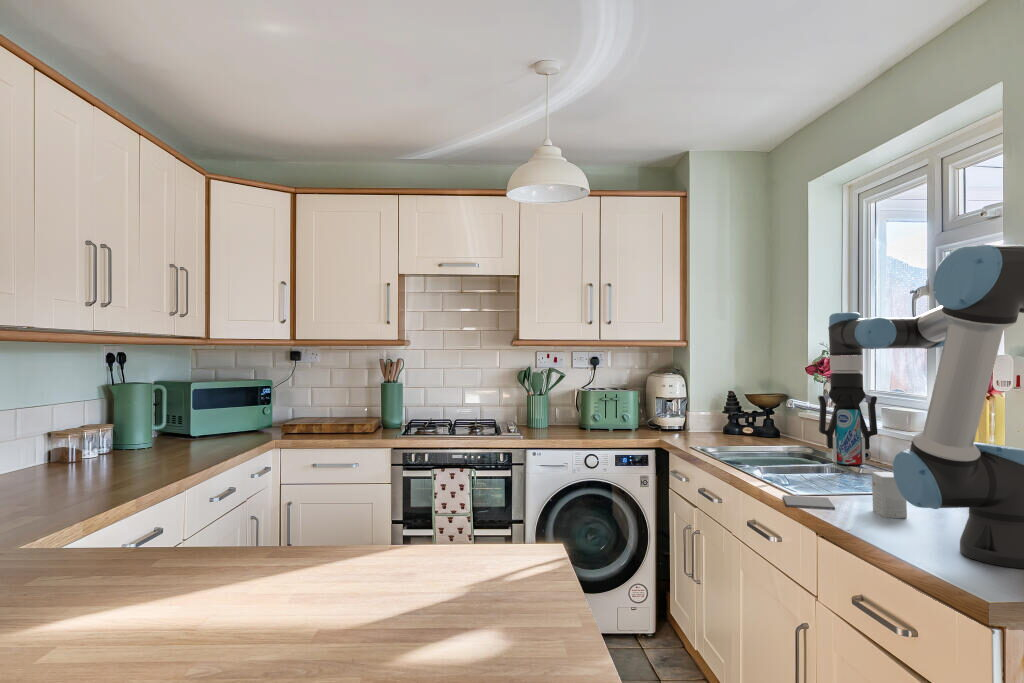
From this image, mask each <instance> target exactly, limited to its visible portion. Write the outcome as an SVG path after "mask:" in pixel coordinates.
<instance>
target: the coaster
mask: <svg viewBox="0 0 1024 683" xmlns="http://www.w3.org/2000/svg"><path fill="white" fill-rule="evenodd" d="M782 498H783V500H784V503H785V505H786V508H804V509H819V510H821V509H822V510H836V507H835V505H834V504H833V503H832V502H831V500H830V499H829V498H828V497H826V496H825V497H821V496H803V495H788V494H786V495H785V494H782Z"/></svg>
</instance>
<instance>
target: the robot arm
mask: <svg viewBox="0 0 1024 683" xmlns="http://www.w3.org/2000/svg"><path fill="white" fill-rule="evenodd" d="M932 289H933V291H935V293H933V294H934V295H933V296H934V299H935V300H936V302H937V303H938V304H939V306H938V307H936V308H933V309H931V310H928V311H927V312H923V313H922V314H920V315H918V316H915V317H883V316H869V317H865V318H862V316H861V313H860V312H855V311H854V312H852V311H851V312H850V311H849V312H848V311H847V312H835V313H831V314H830V315H829V318H828V320H829V322H828V342H829V344H828V346H829V371H830V372H831V371H832V373H830V375H829V378H830V379H829V380H830V381H829V382H830V383H829V384H830V385H829V387H830V388H829V391H828V393H827V394H823V395H821V394H819V395H818V396H817V399H818V402H819V418H818V419H819V424H818V425H819V426H818V432H819V433H820V434H822V435H825V436H826V446H827V449H829V450H831V461H832V462H833V463H836V462H837V444H836V436H835V427H836V424H837V411H838V410H839V409H838V408H859V409H858V410H859V411H860V425H861V462H862V463H861V464H866V450H867V451H869V450H870V437H873V436H876V435H877V434H878V424H877V412H876V410H877V409H876V404H877V401H878V397H877V396H875V395H869V394H866V393H865V389H864V374H862V373H861V372H862V371H863V370H864V369H863V350H865V349H866V350H867V349H868V350H877V349H878V350H879V349H883V350H884V349H925V350H927V349H929V350H931V349H937V348H942V349H941V350H942V351H941V354H940V359H939V363H938V366H937V372H936V376H935V379H934V383H933V387H932V388H933V389H932V392H931V398H930V401H929V407H928V410H927V414H926V418H925V423H924V427H923V431H921V432H919V433H917V434H915V435H914V436H913V437H912V440H911V441H912V442H911V444H910V449H908V450H907V449H904V450H902V451H899V452H898V453H896V454H895V456H894V458H893V462H892V472H893V475H894V479H895V482H896V484H897V487H898V489H899V491H900V493H901V494H902V496H903V497H904V498H905V499H906V502H908V503H910V505H912V506H914V507H916V508H921V509H932V510H939V509H957V508H958V509H959V508H960V509H961V508H968V518H967V520H966V523H965V525H964V528H963V531H962V533H961V535H960V537H959V538H960V539H959V552H960V553H961V554H962V555H964V556H966V557H968V558H970V559H971V560H975V561H978V562H981V563H982V562H983V563H985V564H990V565H994V566H1000V567H1005V568H1006V567H1007V568H1015V569H1024V448H1019V447H1014V446H1007V445H1000V444H992V443H986V442H977V441H976V442H975V439H976V436H977V432H978V429H979V425H980V421H981V417H982V413H983V409H984V407H985V402H986V398H987V395H988V390H989V387H990V383H991V380H992V375H993V371H994V368H995V364H996V360H997V357H998V353H999V349H1000V345H1001V342H1002V337H1003V333H1004V330H1006V329H1007V328H1010V327H1011V326H1013V325H1015V324H1017V320H1018V317H1019V314H1024V245H1023V244H1017V245H1016V244H984V243H983V244H977V245H967V246H966V245H965V246H962V247H961V246H960V247H958V248H956V249H954V250H952V252H951V253H949V254H947V255H946V256H945V257H944V258H943V259H942V260H941V262H940V263H939V264H938V266H937V267H936V270H935V273H934V275H933V281H932ZM829 399H831V401H832V402H833V403H834V407H833V411H832V414H831V417H830V420H829V424H828V426H826V424H827V404H828V403H829ZM864 399H865V402H866V404H867V412H868V413H867V414H868V423H869V428H868V427H867V424H866V421H865V419H864V416H863V412H862V409H861V406H860V405H861V403H862V401H863V400H864ZM835 407H836V409H835ZM826 427H827V428H826Z"/></svg>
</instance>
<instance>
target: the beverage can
mask: <svg viewBox="0 0 1024 683" xmlns="http://www.w3.org/2000/svg"><path fill="white" fill-rule="evenodd" d="M835 409H836V407H835ZM838 409H839V410H838V411H837V424H836V427H835V430H834V436H836V444H837V462H835V463H836V465H838V466H841V467H848V468H849V467H850V468H851V467H853V468H854V467H855V468H856V467H860V466H861V465H862V464H863V463H862V462H861V436H862V432H861V425H860V411H859V410H858V409H859V408H838Z"/></svg>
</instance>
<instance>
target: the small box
mask: <svg viewBox="0 0 1024 683" xmlns="http://www.w3.org/2000/svg"><path fill="white" fill-rule="evenodd" d="M871 485H872V486H871V489H872V491H871V492H872V496H871V497H872V511H874V512H875V513H876V514H878V515H879V514H880V516H881V517H882V516H883V517H882V518H884V517H885V518H886V517H888V518H890V519H891V518H892V519H893V518H894V519H907V518H908V508H907V507H908V506H907V505H908V504H907V500H906V499H905V498H904V497H903V496H902V494H901V493H900V491H899V489H898V487H897V484H896V482H895V479H894V475H893V471H892V472H891V471H871Z"/></svg>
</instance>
